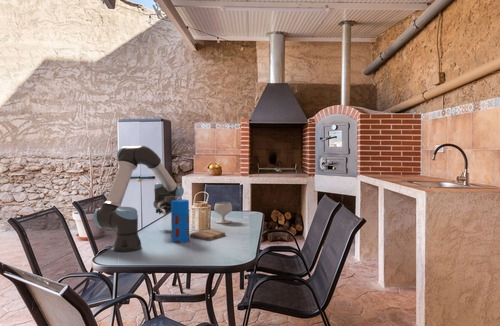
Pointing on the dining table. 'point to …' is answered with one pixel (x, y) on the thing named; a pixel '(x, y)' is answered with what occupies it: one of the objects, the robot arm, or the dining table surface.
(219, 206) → the chalice
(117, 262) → the dining table surface
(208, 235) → the walnut board
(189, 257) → the dining table surface
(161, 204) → the robot arm
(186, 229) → the blue tower block
